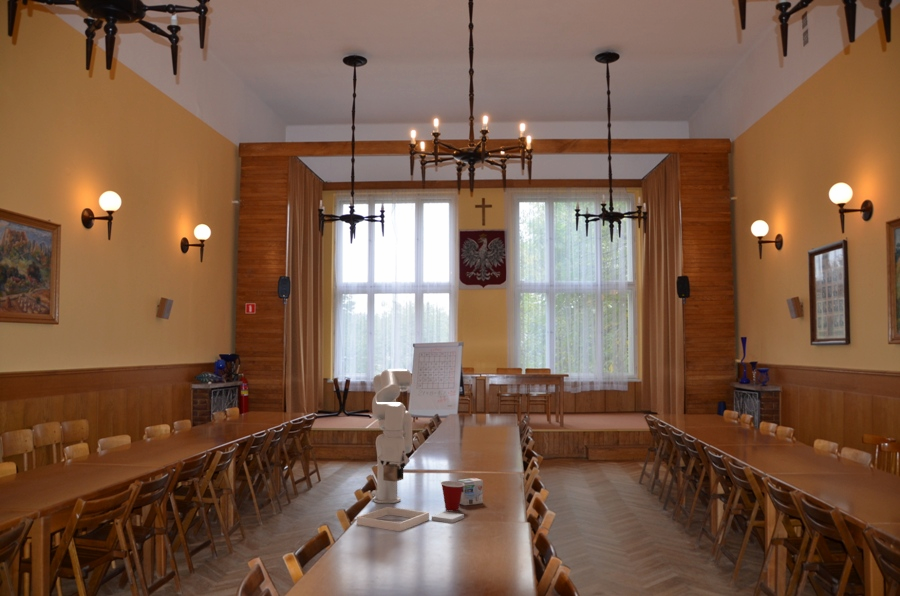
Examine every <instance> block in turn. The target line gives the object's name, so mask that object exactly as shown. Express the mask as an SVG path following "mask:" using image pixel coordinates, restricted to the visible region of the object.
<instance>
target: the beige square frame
mask: <svg viewBox="0 0 900 596" xmlns="http://www.w3.org/2000/svg"><path fill="white" fill-rule="evenodd" d="M387 515H390V516H395V517H396V516H397V517H403V518H409V519H406V520H404V521H401V522H397V521H396V522H395V521H390V520H382V519H378V518H381V517H384V516H387ZM429 520H430V512H427V511H420V510H413V509H407V508H400V507H399V508H398V507H391V506H386V507H383V508H380V509H377V510H374V511H373V510H372V511H371V512H370V511H369V512H368V513H365V514H361V515H359V516H356V525H358V526H366V527H371V528H377V529H384V530H390V531H396V532H401V531H404V530H407V529H409V528H412V527H414V526H416V525H417V526H418V525H420V524H422V523H424V522H427V521H429Z"/></svg>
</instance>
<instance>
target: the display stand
mask: <svg viewBox="0 0 900 596" xmlns="http://www.w3.org/2000/svg"><path fill="white" fill-rule="evenodd" d="M463 519H465V514H464V513H456V512H451V511H442V512H440V513H437V514H435V515H432V516H431V521H436V522H443V523H444V522H445V523H448V524H449V523H451V524H453V523H456V522H458V521H460V520H463Z"/></svg>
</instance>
